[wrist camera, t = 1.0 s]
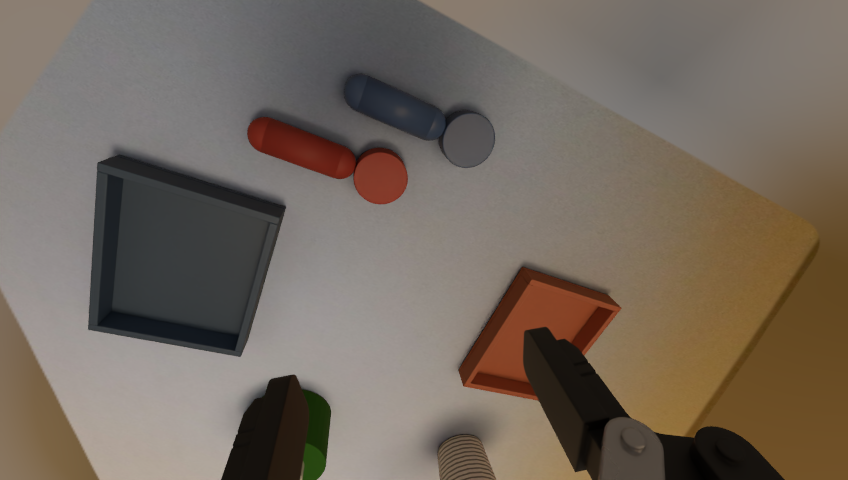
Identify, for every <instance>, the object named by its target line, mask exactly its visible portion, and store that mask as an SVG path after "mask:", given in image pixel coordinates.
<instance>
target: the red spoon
mask: <svg viewBox="0 0 848 480" xmlns="http://www.w3.org/2000/svg"><path fill="white" fill-rule="evenodd" d="M247 135H248V139H249V142H250V143H251V145H252V146H253V147H254V148H255V149H256V150H258V151H260V152H262V153H265V154H268V155H270V156H273V157H276V158H279V159H282V160H285V161H287V162H290V163H293V164H296V165H299V166H301V167H304V168H307V169H310V170H313V171H316V172H318V173H321V174H324V175H327V176H330V177H332V178H336V179H344V178H347V177H349V176H350V175H351V174H352V173H353V172H354V185H355V188H356V190H357V191H358V193H359V194H360V195H361V196H362V197H363V198H364V199H365V200H367V201H369V202H371V203H375V204H387V203H390V202H393V201H395V200H396V199H398V198H399V197H400V196H401V195H402V194H403V192H404V191H405V189H406V186H407V181H408V176H407V171H406V168H405V166H404V163H403V161H402V159H401V158H400V157H399V156H398V155H397V154H396V153H395V152H393V151H392V150H389V149H386V148H373V149H370V150H368V151H366V152H364V153H363V154H362V155H361V156H360V157H359V158H358V160H357V162H356V159H355V156H354V154H353V153H352V151H351V150H350V149H348V148H347V147H345V146H342V145H340V144H337V143H334V142H332V141H329V140H327V139H324V138H322V137H319V136H316V135H314V134H311V133H309V132H306V131H304V130H301V129H298V128H296V127H293V126H291V125H288V124H285V123H283V122H280V121H278V120H275V119H273V118H269V117H260V118H257V119H255V120H253V121H252V122H251V123H250V125H249V127H248V132H247Z"/></svg>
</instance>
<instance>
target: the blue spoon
mask: <svg viewBox="0 0 848 480" xmlns="http://www.w3.org/2000/svg"><path fill="white" fill-rule="evenodd" d="M344 97H345V100H346V102H347V104H348V105H349V106H350V107H351V108H352V109H353V110H355V111H357V112H359V113H362V114H364V115H366V116H369V117H371V118H373V119H376V120H378V121H381V122H383V123H385V124H388V125H390V126H392V127H395V128H397V129H399V130H402V131H404V132H407V133H409V134H411V135H414V136H416V137H418V138H421V139H423V140H428V141H430V140H435V139H437V138H438V137H439V146H440V149H441V151H442V153H443V154H444V155H445V156H446V158H447V159H448V160H449V161H450V162H451V163H452V164H454V165H456V166H458V167H462V168H470V167H474V166H477V165H479V164H481V163H482V162H483V161H485V160H486V159H487V158H488V156H489V155H490V153H491V152H492V149H493V147H494V143H495V133H494V129H493V126H492V124H491V123H490V121H489V120H488V119H487V118H486V117H484V116H483V115H481V114H479V113H476V112H474V111H470V110H461V111H458V112H455V113H453V114H452V115H450V116H449V117H448V118H447V119H446V120H445V116H444V114H443V113H442V111H441V110H440V109H439V108H437V107H435V106H433V105H431V104H429V103H427V102H424V101H422V100H420V99H418V98H416V97H414V96H411V95H409V94H407V93H405V92H403V91H401V90H398V89H396V88H394V87H392V86H390V85H388V84H385V83H383V82H381V81H379V80H377V79H375V78H372V77H370V76H368V75H365V74H356V75H353V76H352V77H350V78H349V79H348V80H347V82H346V84H345V87H344Z"/></svg>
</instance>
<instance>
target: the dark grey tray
mask: <svg viewBox="0 0 848 480" xmlns="http://www.w3.org/2000/svg"><path fill="white" fill-rule="evenodd" d="M285 209H286V207H284V206H281V205H278V204H274V203H271V202H268V201H265V200H262V199H259V198H255V197H252V196H249V195H246V194H243V193H240V192H236V191H233V190H230V189H227V188H224V187H221V186H217V185H214V184H211V183H208V182H205V181H202V180H198V179H195V178H192V177H189V176H186V175H182V174H179V173H176V172H173V171H170V170H167V169H163V168H160V167H157V166H154V165H151V164H148V163H144V162H141V161H138V160H135V159H132V158H129V157H125V156H122V155H116V156H114V157H111V158H108V159H106V160H103V161H101V162H98V164H97V183H96V200H95V218H94V236H93V253H92V271H91V288H90V306H89V325H88V329H89V330H93V331H99V332H104V333H110V334H116V335H121V336H127V337H132V338H138V339H143V340H149V341H155V342H160V343H166V344H171V345H177V346H183V347H188V348H194V349H199V350H205V351H210V352H216V353H222V354H227V355H233V356H238V357H240V356H241V355H242V352H243V350H244V348H245V345H246V343H247V340H248V337H249V334H250V330H251V327H252V324H253V320H254V317H255V313H256V310H257V306H258V303H259V299H260V296H261V292H262V289H263V285H264V282H265V278H266V275H267V271H268V268H269V264H270V261H271V257H272V254H273V251H274V247H275V244H276V240H277V237H278V233H279V230H280V226H281V223H282V219H283V216H284V212H285Z"/></svg>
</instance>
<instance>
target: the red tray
mask: <svg viewBox="0 0 848 480" xmlns="http://www.w3.org/2000/svg"><path fill="white" fill-rule="evenodd" d="M620 310H621V307H620V306H619V305H618V304H617V303H616V302H615V301H614V300H613V299H612V298H610V296H609V295H606V294H603V293H600V292H597V291H594V290H591V289H588V288H585V287H582V286H579V285H576V284H573V283H570V282H567V281H564V280H561V279H558V278H555V277H552V276H549V275H546V274H543V273H540V272H537V271H534V270H531V269H528V268H525V267H522V268H521V270H520V272H519V273H518V275H517V276H516V278H515V280H514V281H513V283H512V285H511V286H510V288H509V289H508V291H507V293H506V294H505V296H504V297H503V299H502V301H501V302H500V304H499V306H498V307H497V309H496V310H495V312H494V314H493V315H492V317H491V318H490V320H489V322H488V323H487V325H486V327H485V328H484V330H483V331H482V333H481V335H480V336H479V338H478V340H477V341H476V343H475V344H474V346H473V348H472V349H471V351H470V352H469V354H468V356H467V357H466V359H465V361H464V362H463V364H462V365H461V367H460V369H459V373H460V377H461V380H462V383H463V386H465V387H470V388H475V389H481V390H486V391H491V392H496V393H502V394H507V395H512V396H517V397H523V398H528V399H533V400H538V398H537V396H536V394H535V392H534V390H533V388H532V386H531V384H530V382H529V380H528V378H527V376H526V373H525V370H524V366H523V344H524V332H525V330H530V329H535V328H540V327H547V328H548V329H549V330H550V331H551V333H552V334H553V336H554V337H555V338H556V340H560V339H566V340H567V341H569V342H570V343H572V344H573V345H575V346H576V347H577V348H579V350H580V351H581V352H582V354H583V355H585V354H586V352H587V351H588V350H589V349H590V347H591V346H592V345H593V344H594V342H595V341H596V340H597V339H598V337H599V336H600V335H601V334H602V332H603V331H604V330H605V328H606V327H607V326H608V325H609V323H610V322H611V321H612V320H613V318H614V317H615V316H616V315H617V313H618V312H619V311H620ZM538 401H539V400H538Z"/></svg>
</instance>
